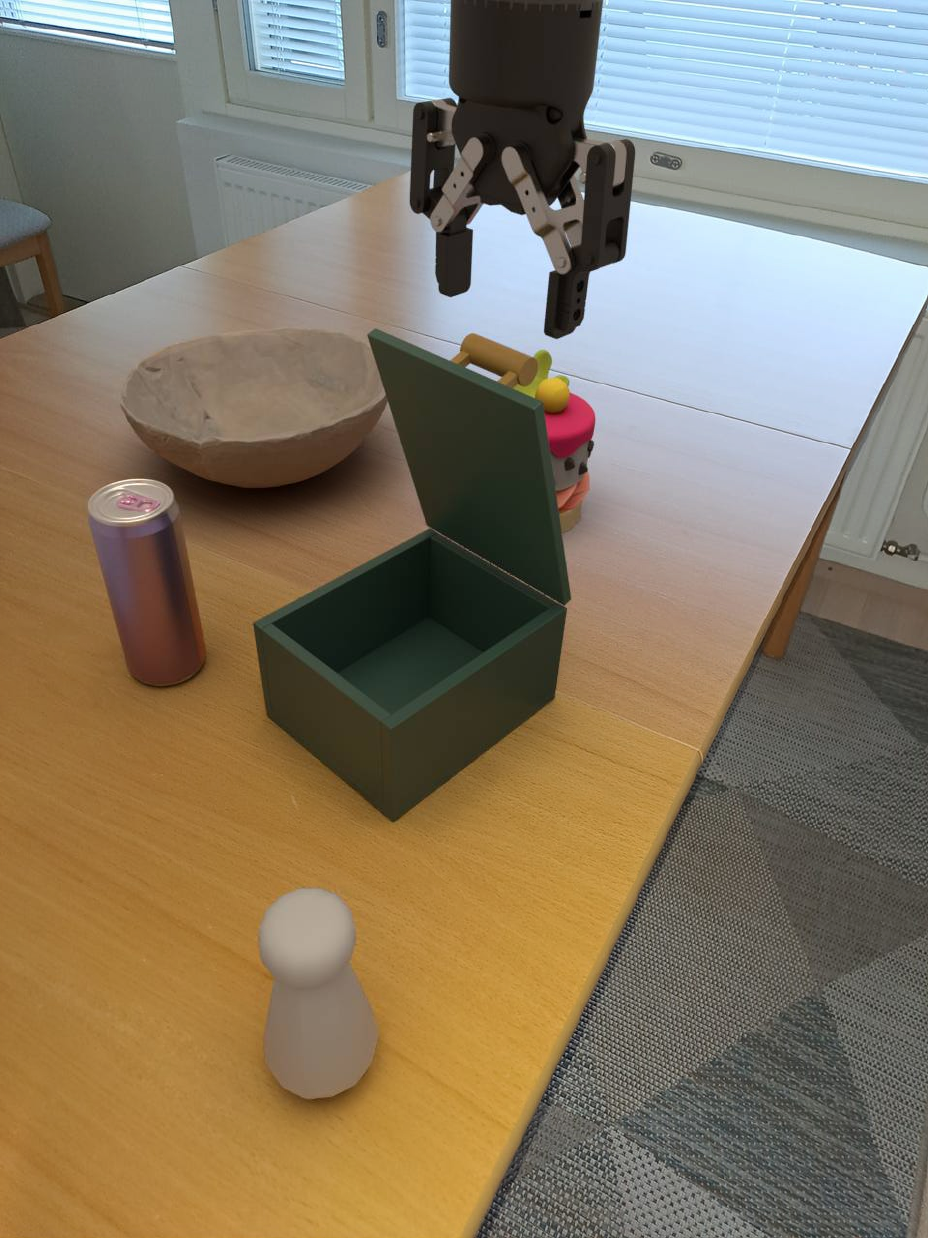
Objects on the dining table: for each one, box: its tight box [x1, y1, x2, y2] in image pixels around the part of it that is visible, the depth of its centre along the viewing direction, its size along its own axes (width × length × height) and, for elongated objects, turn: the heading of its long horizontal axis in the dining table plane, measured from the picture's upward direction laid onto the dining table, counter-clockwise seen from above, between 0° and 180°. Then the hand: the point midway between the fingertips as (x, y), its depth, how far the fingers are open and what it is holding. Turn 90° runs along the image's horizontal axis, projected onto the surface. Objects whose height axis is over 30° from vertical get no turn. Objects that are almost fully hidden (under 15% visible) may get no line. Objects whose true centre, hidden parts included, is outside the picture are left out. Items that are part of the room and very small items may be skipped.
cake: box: [513, 349, 596, 534], centre depth 85 cm, size 10×11×15 cm
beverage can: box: [87, 478, 207, 687], centre depth 66 cm, size 6×6×15 cm
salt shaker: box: [257, 887, 380, 1100], centre depth 44 cm, size 6×6×13 cm
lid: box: [366, 327, 572, 607], centre depth 61 cm, size 18×14×5 cm
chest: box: [252, 527, 568, 823], centre depth 66 cm, size 17×14×9 cm
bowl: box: [118, 326, 388, 489], centre depth 92 cm, size 26×26×10 cm
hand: (505, 313), depth 55 cm, fingers open, 8 cm apart
